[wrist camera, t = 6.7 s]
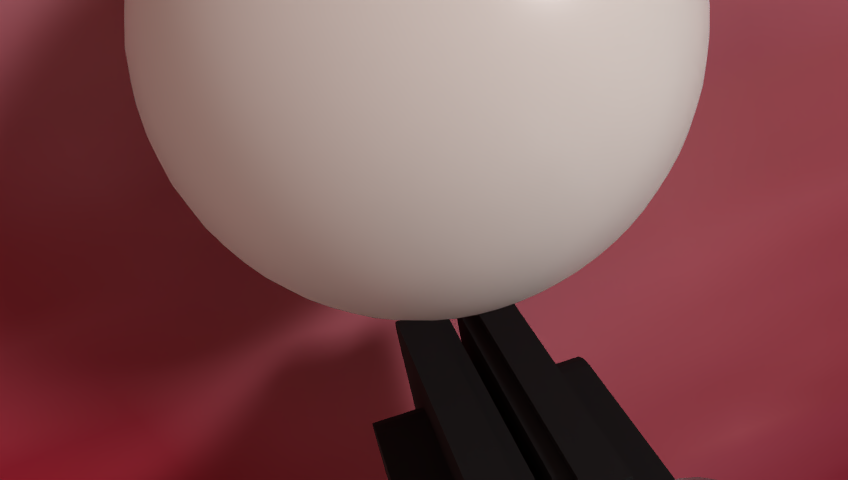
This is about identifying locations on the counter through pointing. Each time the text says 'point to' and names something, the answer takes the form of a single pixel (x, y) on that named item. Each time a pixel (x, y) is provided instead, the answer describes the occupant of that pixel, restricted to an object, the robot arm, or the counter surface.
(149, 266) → the counter surface
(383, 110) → the cue ball
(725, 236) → the counter surface
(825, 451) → the counter surface
